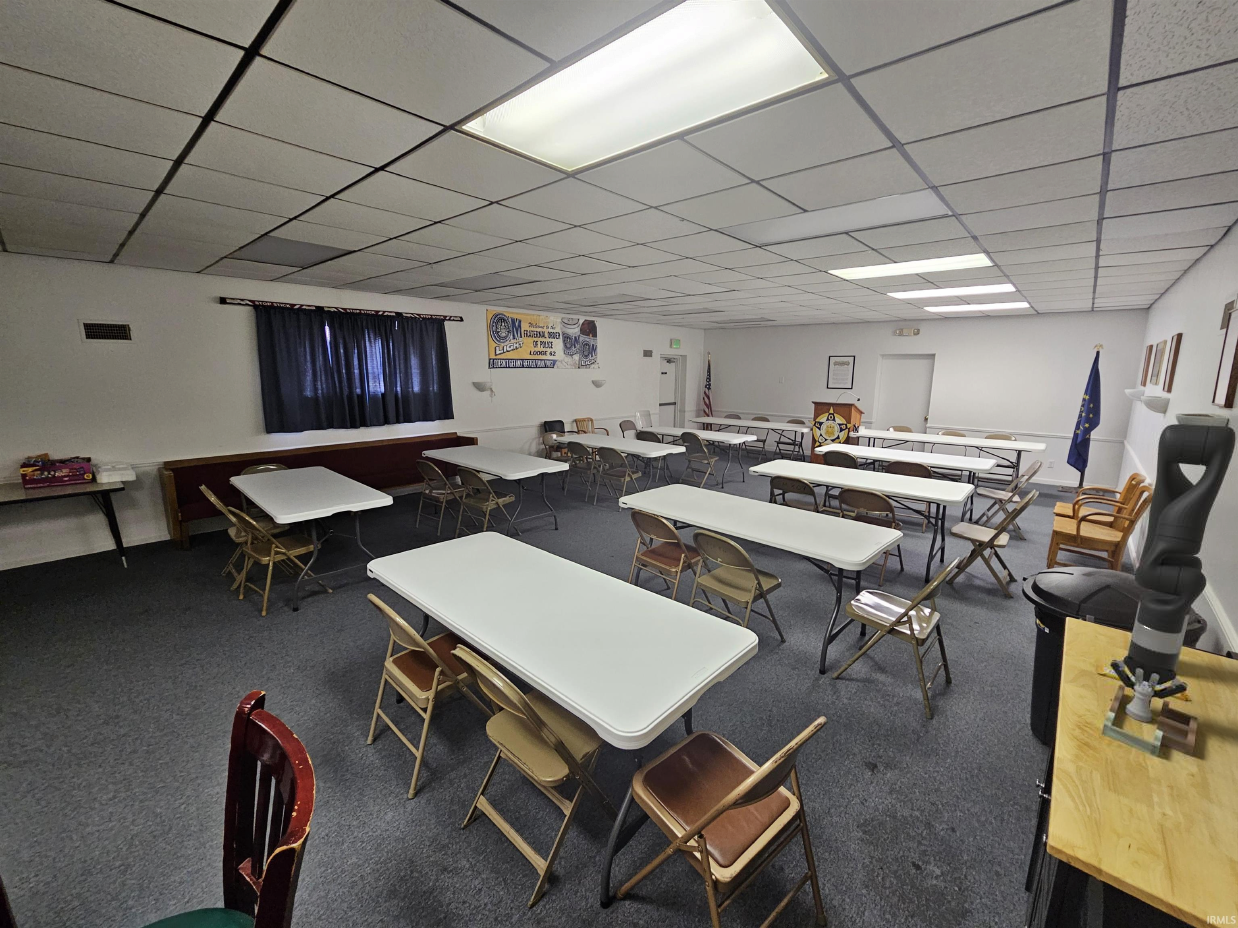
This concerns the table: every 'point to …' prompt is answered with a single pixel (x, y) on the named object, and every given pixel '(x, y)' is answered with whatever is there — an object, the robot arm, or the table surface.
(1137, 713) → the rook chess piece
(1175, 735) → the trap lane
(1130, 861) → the table surface
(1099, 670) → the candy bar
